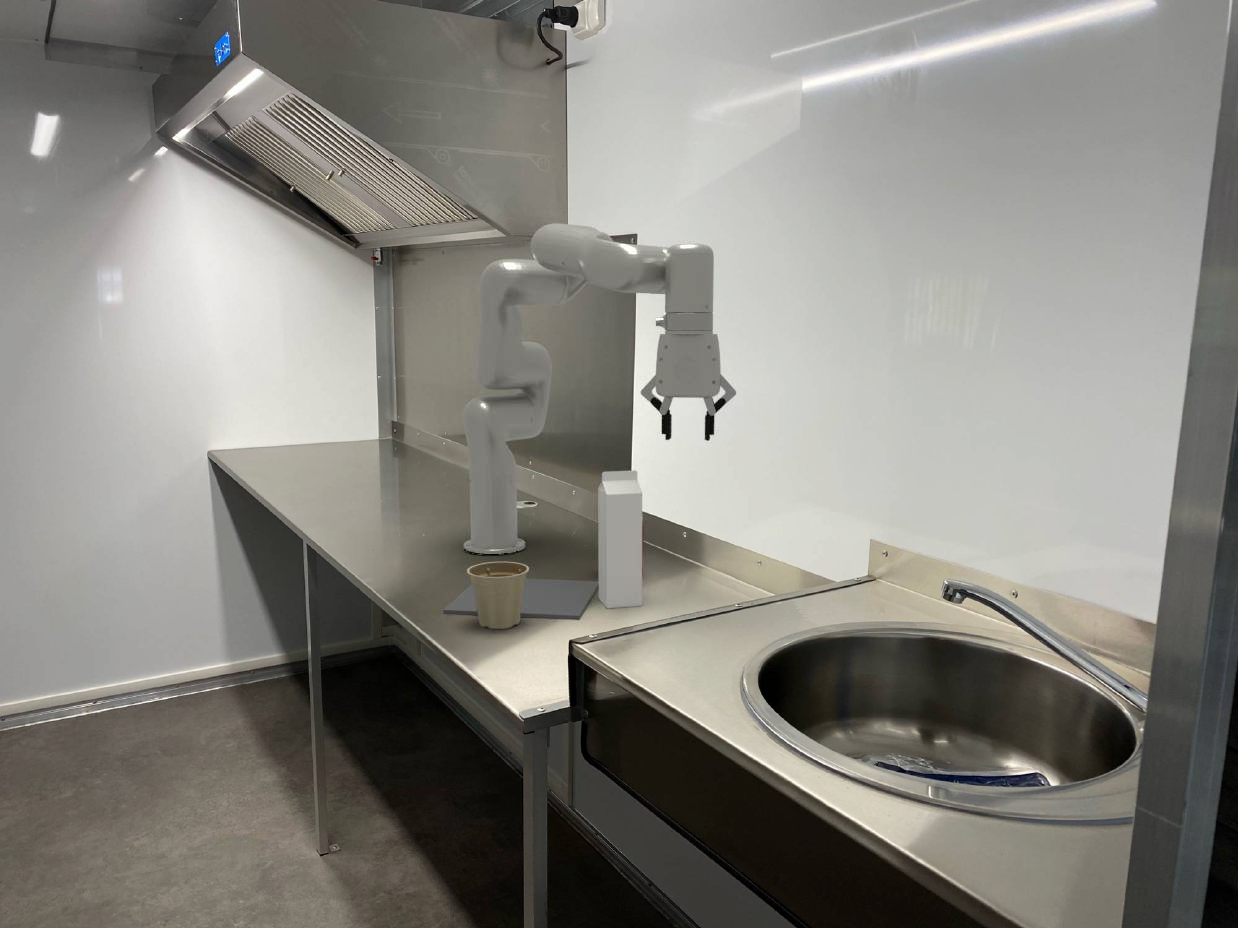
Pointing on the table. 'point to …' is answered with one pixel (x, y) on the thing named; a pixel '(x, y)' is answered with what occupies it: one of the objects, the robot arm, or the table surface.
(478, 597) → the flower pot
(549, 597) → the mat
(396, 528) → the table surface
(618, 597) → the milk
